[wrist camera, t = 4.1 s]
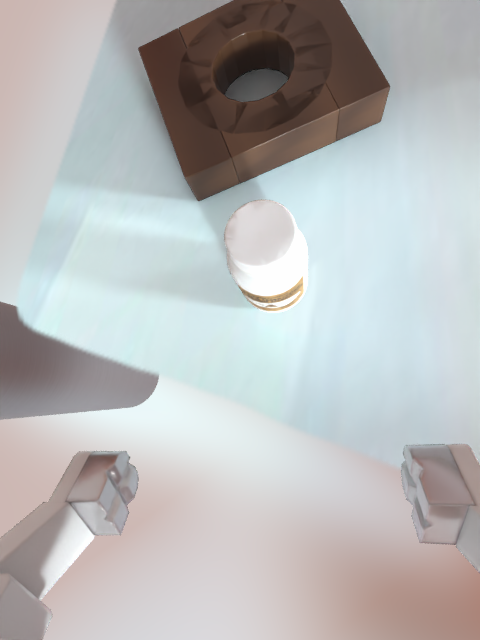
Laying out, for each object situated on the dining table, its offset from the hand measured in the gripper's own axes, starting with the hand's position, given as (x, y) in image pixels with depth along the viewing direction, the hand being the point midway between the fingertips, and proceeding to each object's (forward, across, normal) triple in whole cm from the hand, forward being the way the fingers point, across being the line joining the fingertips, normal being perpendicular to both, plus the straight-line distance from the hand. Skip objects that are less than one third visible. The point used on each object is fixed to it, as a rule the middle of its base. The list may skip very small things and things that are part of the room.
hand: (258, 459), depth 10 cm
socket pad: (+25, 0, +8) cm, 27 cm away
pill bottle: (+15, 0, -2) cm, 15 cm away
